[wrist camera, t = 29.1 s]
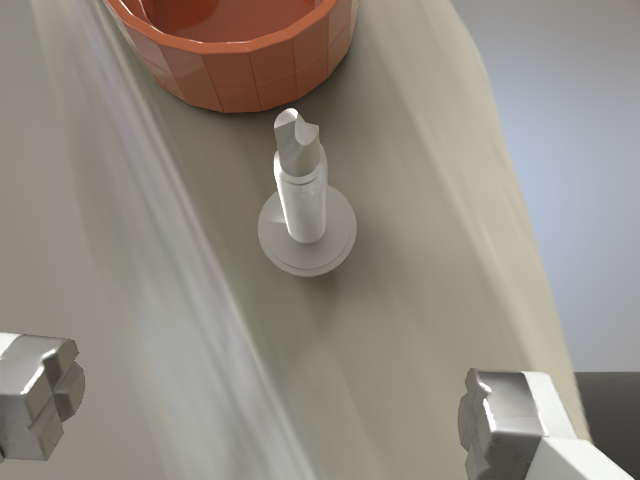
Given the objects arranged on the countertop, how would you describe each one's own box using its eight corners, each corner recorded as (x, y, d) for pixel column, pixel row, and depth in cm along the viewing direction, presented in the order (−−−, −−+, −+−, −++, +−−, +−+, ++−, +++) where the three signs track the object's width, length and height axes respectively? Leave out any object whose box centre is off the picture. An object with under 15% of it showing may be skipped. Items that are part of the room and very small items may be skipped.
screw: (358, 279, 26) (264, 286, 26) (350, 191, 28) (260, 197, 28) (389, 194, 14) (210, 207, 14) (373, 39, 15) (208, 50, 15)
